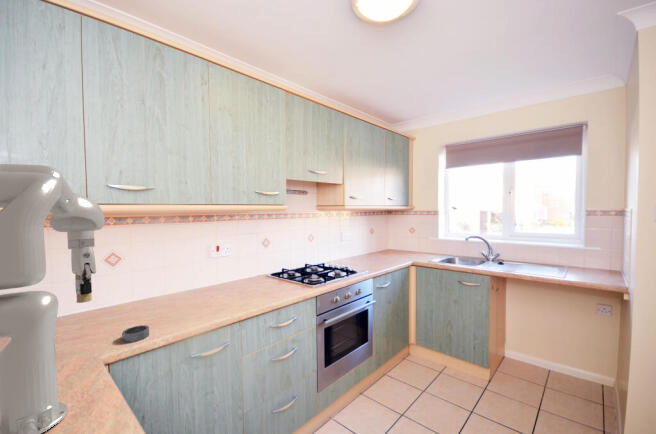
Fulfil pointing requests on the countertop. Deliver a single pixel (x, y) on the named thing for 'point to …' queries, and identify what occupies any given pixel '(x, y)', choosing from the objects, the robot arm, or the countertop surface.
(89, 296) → the sprinkles bottle
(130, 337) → the socket collar
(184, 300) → the countertop surface
